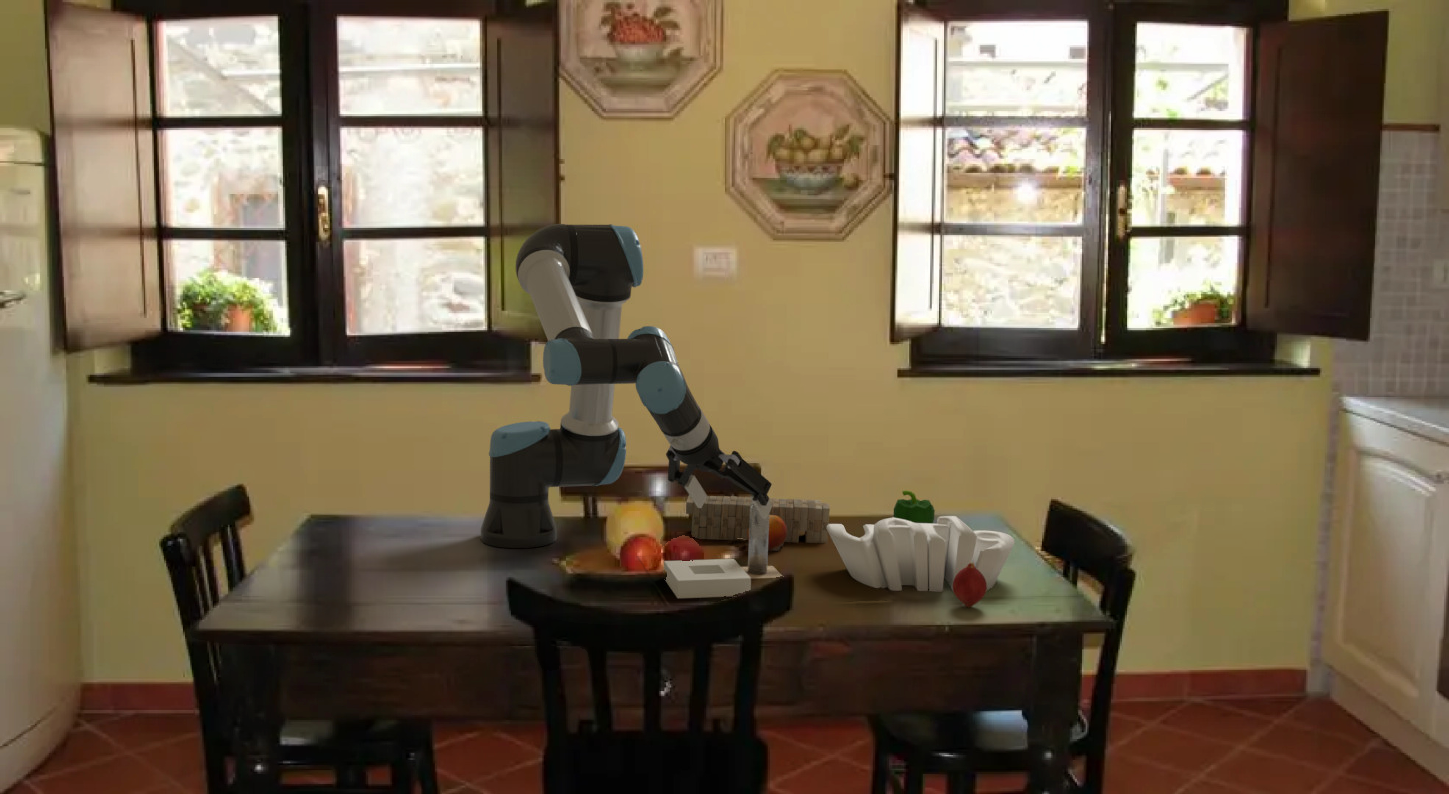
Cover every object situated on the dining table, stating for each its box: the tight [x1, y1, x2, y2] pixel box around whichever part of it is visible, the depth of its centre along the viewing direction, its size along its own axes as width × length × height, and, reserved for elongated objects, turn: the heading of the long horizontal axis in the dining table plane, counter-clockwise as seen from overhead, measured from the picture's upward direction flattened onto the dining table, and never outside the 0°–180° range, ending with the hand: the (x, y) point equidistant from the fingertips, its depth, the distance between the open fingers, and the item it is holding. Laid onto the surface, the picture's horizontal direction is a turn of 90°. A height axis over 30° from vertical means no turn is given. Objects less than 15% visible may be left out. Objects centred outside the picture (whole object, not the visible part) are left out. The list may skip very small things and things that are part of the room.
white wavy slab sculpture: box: [827, 515, 1016, 592], centre depth 257 cm, size 35×16×10 cm, turn 89°
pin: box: [747, 502, 769, 575], centre depth 257 cm, size 4×4×13 cm
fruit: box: [747, 515, 787, 552], centre depth 276 cm, size 8×8×8 cm
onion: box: [952, 563, 987, 608], centre depth 241 cm, size 6×6×8 cm
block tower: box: [685, 494, 831, 544], centre depth 286 cm, size 8×8×29 cm
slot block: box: [663, 558, 752, 599], centre depth 248 cm, size 13×13×4 cm
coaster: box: [741, 565, 783, 580], centre depth 258 cm, size 8×8×1 cm
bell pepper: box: [893, 490, 936, 524], centre depth 289 cm, size 8×8×10 cm
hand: (734, 507), depth 248 cm, fingers open, 13 cm apart
